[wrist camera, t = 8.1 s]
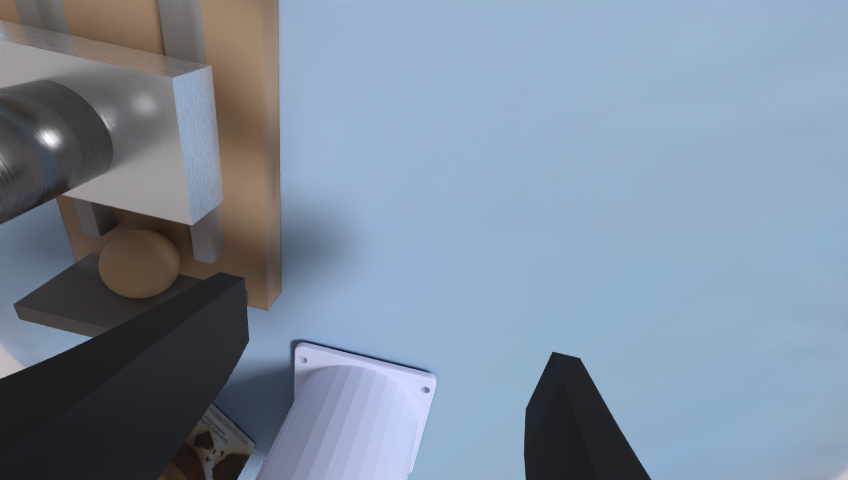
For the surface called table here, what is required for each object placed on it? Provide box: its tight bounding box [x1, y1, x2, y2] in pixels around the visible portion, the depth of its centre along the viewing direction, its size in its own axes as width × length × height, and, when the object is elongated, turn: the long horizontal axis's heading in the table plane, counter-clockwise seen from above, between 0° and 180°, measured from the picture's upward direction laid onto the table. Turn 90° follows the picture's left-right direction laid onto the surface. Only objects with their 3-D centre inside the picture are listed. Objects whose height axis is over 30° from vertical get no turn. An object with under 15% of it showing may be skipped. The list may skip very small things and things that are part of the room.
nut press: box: [0, 0, 281, 338], centre depth 16 cm, size 19×10×6 cm, turn 170°
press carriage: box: [0, 20, 224, 225], centre depth 13 cm, size 5×8×6 cm, turn 80°
